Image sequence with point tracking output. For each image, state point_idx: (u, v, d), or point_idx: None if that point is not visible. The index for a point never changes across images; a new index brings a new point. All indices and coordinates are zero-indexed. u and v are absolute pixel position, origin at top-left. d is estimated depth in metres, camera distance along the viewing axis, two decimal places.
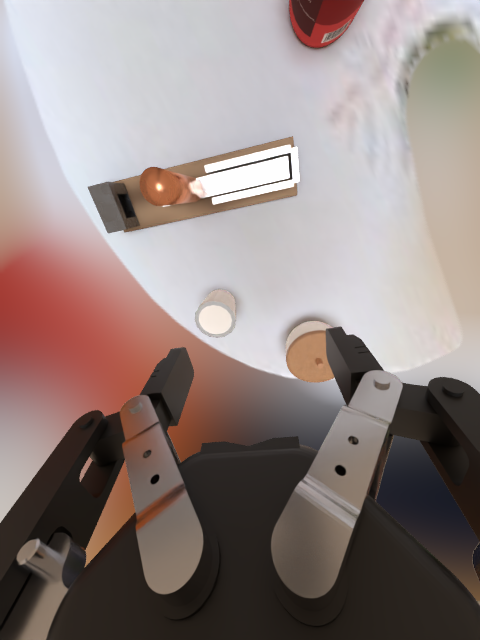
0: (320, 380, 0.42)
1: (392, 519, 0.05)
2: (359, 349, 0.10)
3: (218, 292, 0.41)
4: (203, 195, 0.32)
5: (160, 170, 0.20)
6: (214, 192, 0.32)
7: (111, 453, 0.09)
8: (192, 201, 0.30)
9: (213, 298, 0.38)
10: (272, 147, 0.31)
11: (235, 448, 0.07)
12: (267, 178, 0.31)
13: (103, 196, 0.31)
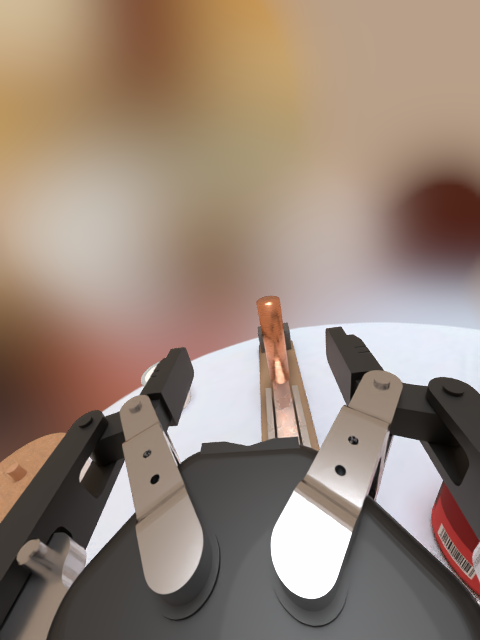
0: None
1: (392, 519, 0.05)
2: (359, 349, 0.10)
3: None
4: (274, 383, 0.35)
5: (277, 301, 0.29)
6: (275, 391, 0.33)
7: (111, 453, 0.09)
8: None
9: None
10: None
11: (235, 448, 0.07)
12: None
13: None
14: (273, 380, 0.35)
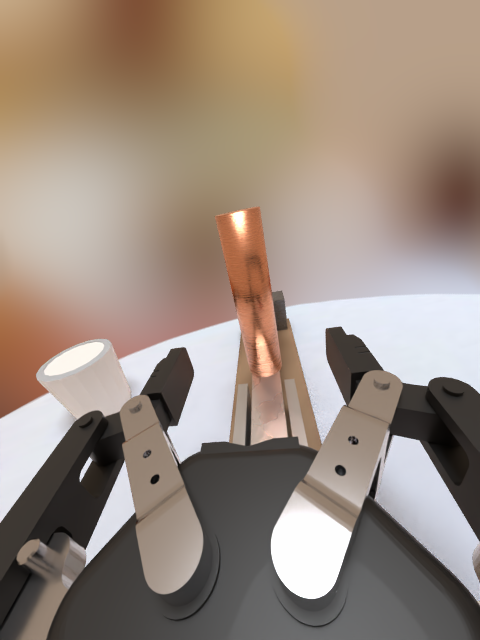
0: None
1: (392, 519, 0.05)
2: (359, 349, 0.10)
3: (119, 393, 0.25)
4: (254, 376, 0.20)
5: (253, 208, 0.14)
6: (255, 390, 0.19)
7: (111, 453, 0.09)
8: None
9: (109, 367, 0.23)
10: None
11: (235, 448, 0.07)
12: None
13: (272, 296, 0.31)
14: (253, 371, 0.20)
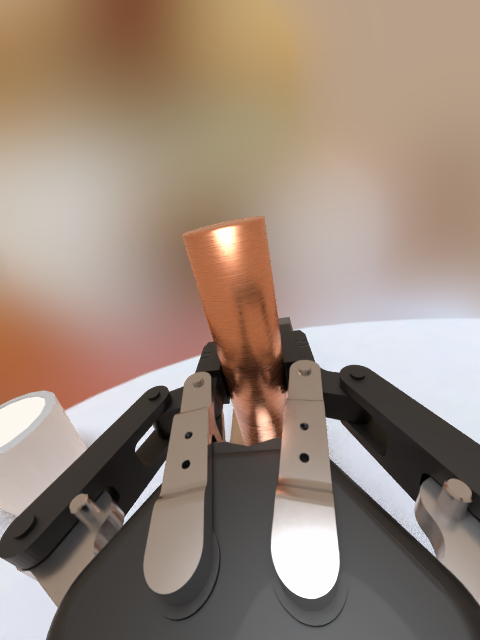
0: None
1: (392, 519, 0.05)
2: (300, 343, 0.12)
3: None
4: None
5: (253, 221, 0.07)
6: None
7: None
8: None
9: (48, 440, 0.17)
10: None
11: (235, 448, 0.07)
12: None
13: None
14: None
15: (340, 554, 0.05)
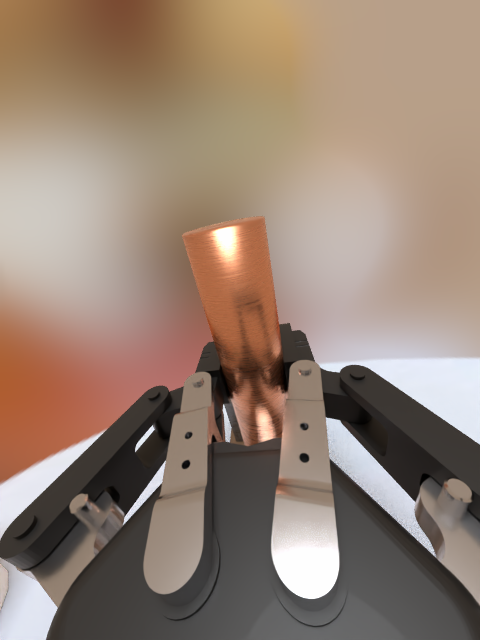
0: None
1: (392, 519, 0.05)
2: (300, 343, 0.12)
3: None
4: None
5: (253, 221, 0.07)
6: None
7: None
8: None
9: None
10: None
11: (235, 448, 0.07)
12: None
13: None
14: None
15: (340, 554, 0.05)
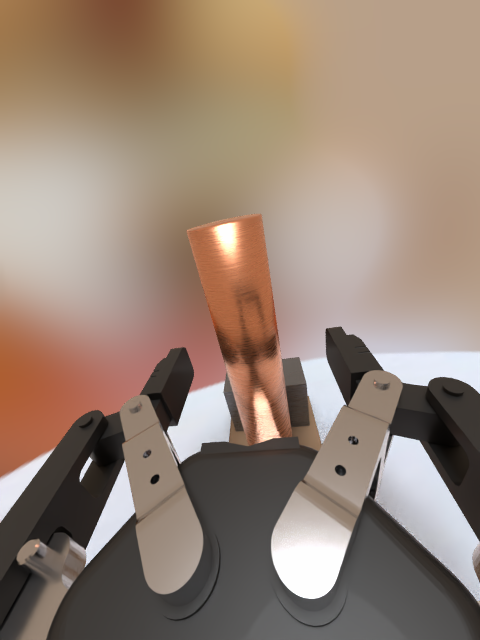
0: None
1: (392, 519, 0.05)
2: (359, 349, 0.10)
3: None
4: None
5: (251, 218, 0.08)
6: None
7: (111, 453, 0.09)
8: None
9: None
10: None
11: (235, 448, 0.07)
12: None
13: None
14: None
15: None
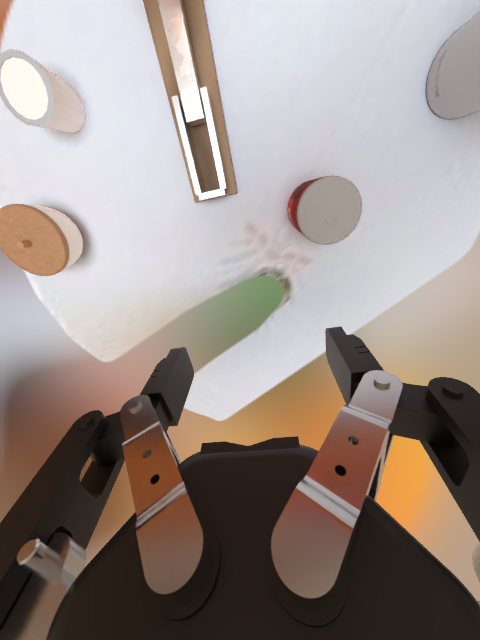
0: (4, 250, 0.36)
1: (392, 519, 0.05)
2: (359, 349, 0.10)
3: (76, 103, 0.32)
4: None
5: None
6: (161, 6, 0.26)
7: (111, 453, 0.09)
8: None
9: (58, 90, 0.29)
10: (229, 173, 0.36)
11: (235, 448, 0.07)
12: (183, 92, 0.29)
13: None
14: None
15: None
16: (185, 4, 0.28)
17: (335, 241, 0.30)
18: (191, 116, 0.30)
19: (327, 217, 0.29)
